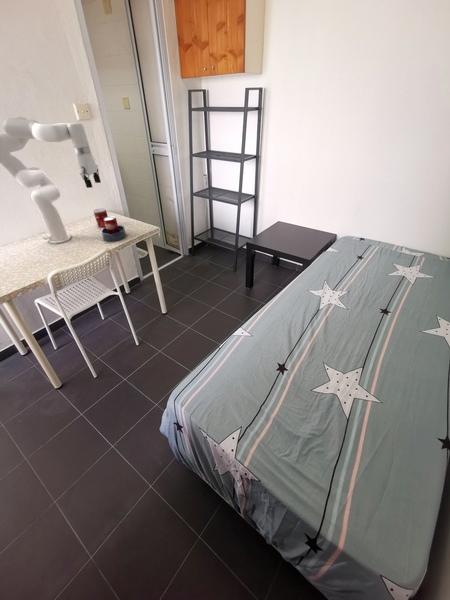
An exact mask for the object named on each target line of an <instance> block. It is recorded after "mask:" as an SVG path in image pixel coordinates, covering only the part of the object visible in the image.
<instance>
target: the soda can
mask: <svg viewBox="0 0 450 600" xmlns="http://www.w3.org/2000/svg"><path fill="white" fill-rule="evenodd" d="M104 223H105V226H106V227H105V228H106V229H107V233H108V234H114V233H118V232H120V231H119V227H118V225H119V224H118V220H117V217H115V216H113V215H112V216H111V215H110V216H108V217H106V218H104Z"/></svg>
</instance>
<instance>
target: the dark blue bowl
mask: <svg viewBox="0 0 450 600" xmlns="http://www.w3.org/2000/svg"><path fill="white" fill-rule="evenodd" d="M118 227H119V231H120V232H118V233H114V234H108V233H107V229H106V227H104V228H102V229H101V235H102V239H103V240H104V241H106V242H116V241H117V242H118V241H120V240H123V239H125V237H127V233H126V228H125V226H124V225H121V224H120V225H119V224H118Z"/></svg>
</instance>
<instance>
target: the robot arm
mask: <svg viewBox="0 0 450 600" xmlns="http://www.w3.org/2000/svg"><path fill="white" fill-rule="evenodd" d="M2 127H3V130H4V131H5V133H2V134H0V164H1V165H2V166H3V167H4V169H6V170H7V172H9V173H10V175H11V176H12V177H13V178H14V179H15V180H16V181H17V183H18V184H19V185H21V186H22V187H23V188H25V189H27V190H30V189H34V190H33V191H32V192H31V194H30V195H31V196H30V197H31V200H32V202H33V204H34V206H36V208H37V210H38V212H39V215H40V216H41V218H42V222H43V223H44V225H45V228H46V231H47V232H48V234H45V235H42V236H41V238H42V240H45V241H47V240H48V242H49V243H50V244H55V245H56V244H62V243H65V242H68V241H69V240H70V239H71V238H72V236H71V234H70V233H67V231H66V228H65V226H64V223H63V220H62V218H61V215H60V213H59V210H58V209H57V207H56V206H55V205H54V204H53V203H54V202H55V201H57V200H59V199H60V198H61V192H60V189H59V188H58V187H57V185H56V184H55V183H54V182H53V181H52V179H51V178H50V177H49V176H48V175H47V174H46V173H45V172H44V171H43V170H42V169H40V168H39V167H35V166H33V167H32V166H31V167H29V168H28V167H27V166H26V165H25V164H24V163H23V161H21V160H20V159H19V158H18V157H16V156H15V155H12V153H13V152H18V151H21V150H23V149H24V148H25V146H26V145H27V143H28V142H29V140H38V141H40V142H45V143H46V142H47V143H62V142H65V141H66V142H67V141H69V140H70V141H71V143H72V145H73V148H74V151H75V157H76V162H77V166H78V170H79V175H80V176H81V179H82V180H83V181H84V184H85V187H86V188H87V189H89V188H92V189H93V184H92V181H91V179H90V176H91V175H92V177H93V180H94V183H95V184H99V183H102V182H101V178H100V173H99V165H98V164H97V163H96V161H95V159H94V156H93V153H92V149H91V146H90V143H89V139H88V136H87V132H86V129H85V126H84V125H83V123H81V122H60V123H54V124H47V123H46V124H45V123H44V124H43V123H39V122H38V121H37V120H35V119H27V118H26V117H23V116H17V117H11V118H10V117H9V118H6V119H5V120H4V121H3V123H2ZM36 187H38V188H36Z"/></svg>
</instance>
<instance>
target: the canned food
mask: <svg viewBox="0 0 450 600" xmlns="http://www.w3.org/2000/svg"><path fill="white" fill-rule="evenodd" d="M93 215H94V218H95V221H96V225H97V227H98V228H102V229H104V228H106V226H105V223H104V218H106V217H109V216H108V212H107V209H106V208H104V207H101V208H100V207H99V208H96V209H94V210H93Z"/></svg>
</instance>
